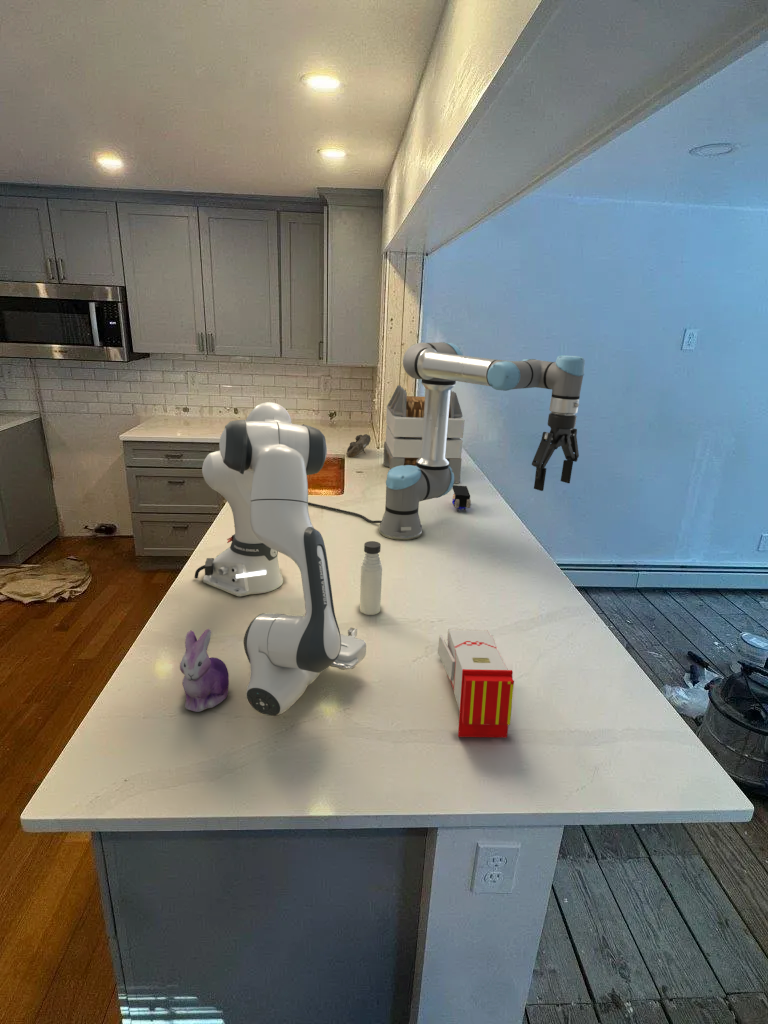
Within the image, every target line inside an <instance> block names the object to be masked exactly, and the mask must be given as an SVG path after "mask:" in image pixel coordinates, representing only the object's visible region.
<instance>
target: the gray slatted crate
mask: <svg viewBox="0 0 768 1024" xmlns="http://www.w3.org/2000/svg"><path fill="white" fill-rule="evenodd" d="M407 394H408V393H407V390H406V389H404V388H403V387H402V385H399V384H398V385H397V386H396V388H395V390H394V392H393V394H392V395H391V398H390V400H389V402H388V404H387V405H386V413H385V414H386V415H385V423H386V428H385V438H384V442H383V466H384V467H388V468H389V470H390V469H392V468H394V467H396V466H401V465H404V466H405V465H413V466H416V461H417V459H418V458H420V457H421V449H422V434H423V419H424V404H425V396H415V395H414V396H413V395H412V396H411V395H407ZM464 429H465V419H464V418H463V411H462V408H461V405H460V402H459V398H458V395H457V392H455V391H453V390H451V392H450V404H449V416H448V428H447V441H446V453H445V458H446V459H447V461H448V462H449V466H450V467H451V469H452V473H454V484H455V483H456V484H459V483H461V472H462V461H463V460H462V453H463V442H464V441H463V440H462V439H463V438H464V431H465V430H464Z"/></svg>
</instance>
